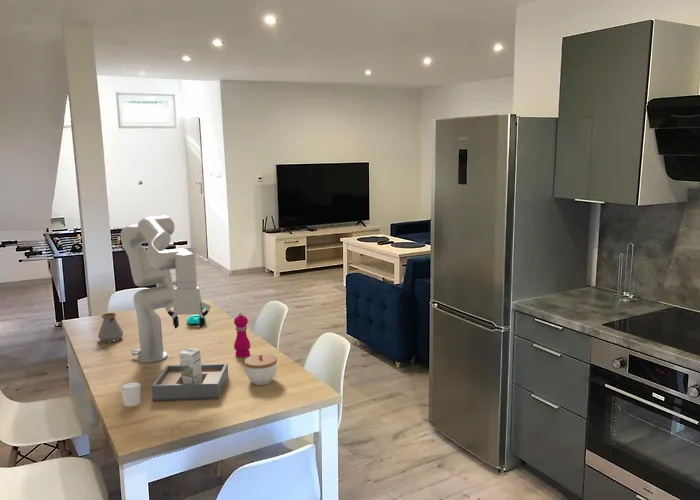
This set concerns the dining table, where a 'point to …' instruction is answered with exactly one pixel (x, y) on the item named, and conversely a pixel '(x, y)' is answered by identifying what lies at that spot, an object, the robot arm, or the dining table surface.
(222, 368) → the gray open box
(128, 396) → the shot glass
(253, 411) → the dining table surface
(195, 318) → the donuts
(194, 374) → the syrup box
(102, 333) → the coffee pot
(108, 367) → the dining table surface
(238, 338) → the pepper mill
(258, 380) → the lidded bowl
